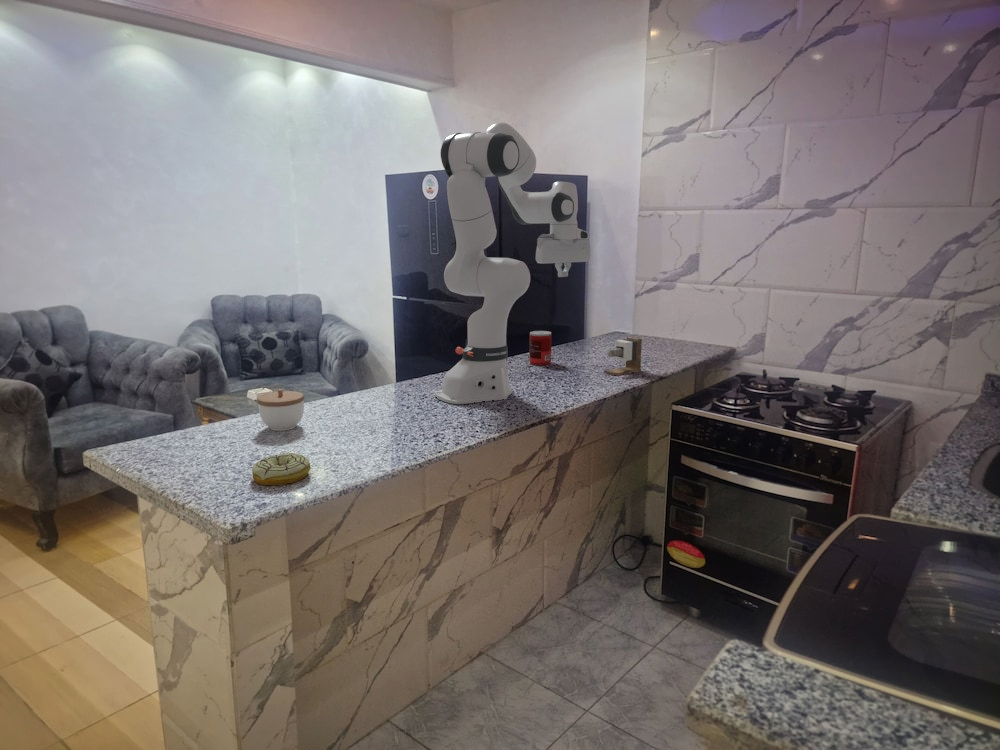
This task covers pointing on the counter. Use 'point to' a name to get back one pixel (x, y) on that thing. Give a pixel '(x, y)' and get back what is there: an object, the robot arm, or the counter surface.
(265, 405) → the lidded jar
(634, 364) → the pipe stand
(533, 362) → the canned food
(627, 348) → the sleeve
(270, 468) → the decorated donut
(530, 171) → the robot arm
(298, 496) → the counter surface
